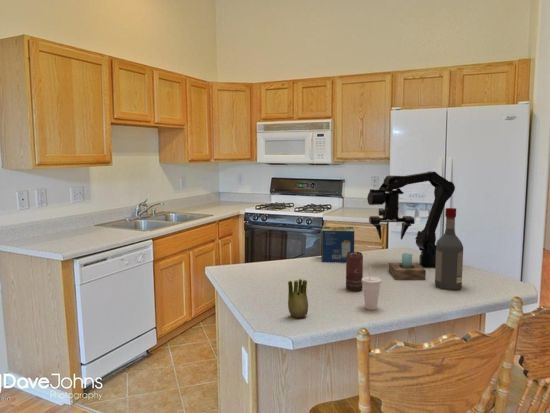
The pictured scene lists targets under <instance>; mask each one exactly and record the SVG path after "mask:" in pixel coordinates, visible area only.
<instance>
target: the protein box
mask: <svg viewBox="0 0 550 413" xmlns="http://www.w3.org/2000/svg"><path fill="white" fill-rule="evenodd" d="M354 228H355V227H354V226H322V227H321V262H322V263H335V262H336V263H339V264H340V263H341V264H342V263H344V264H346V255H347V253H348V252H355V229H354ZM336 263H335V264H336Z"/></svg>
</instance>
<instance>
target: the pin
mask: <svg viewBox="0 0 550 413" xmlns="http://www.w3.org/2000/svg"><path fill="white" fill-rule="evenodd" d="M401 263H402V268H412V263H413V254H411V253H408V252H407V253H405V252H403V253H402V254H401Z"/></svg>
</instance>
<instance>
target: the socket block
mask: <svg viewBox="0 0 550 413" xmlns="http://www.w3.org/2000/svg"><path fill="white" fill-rule="evenodd" d="M426 272H427V270H426V269H425V267H423V266H422V265H420V264H419V262H412V268H402V262H388V273H389V274H390V275H391V277H392V278H393V280H395V281H426V274H427V273H426Z"/></svg>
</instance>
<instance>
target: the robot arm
mask: <svg viewBox="0 0 550 413" xmlns="http://www.w3.org/2000/svg"><path fill="white" fill-rule="evenodd" d="M425 182H426V183H427V182H429V183H430V185H431V186H432V187H434V189H433V190H434V192H433V195H434V201H433V203H432V206H431V208H430V211H429V214H428V217H427V220H426V222H425V226H424V227H423V229H422V230H421V231H420V230H418V231H417V234H416V237H415V238H414V239H415V244H416V247H418V249H419V251H420V254H419V261H418V264H419V265H420V266H421V267H423V268H435V266H436V243H437V238H436V231H437V228H438V226H439V222H440V220H441V217H442V215H443V212H444V208H445V205H446V203H447V202H448V200H450V198H451V197H452V196H453V194H454V192H455V189H456V186H455V184H454V182H452V181H450V180H448V179H446V178H444V177H443V176H441V175H440V174H439V173H437V172H436V171H427V172H420V173H413V174H409V175H408V174H407V175H386V176H385V178H384V179H383V183H382V184H381V186H380V187H379V188H378V189H373V188H372V189H369V192H368V194H367V197H366V198H367V199H366V200H367V203H368V205H369V206H379V205H380V206H381V205H384V208H383V207H382V208H381V207H380V208H378V215H371V216H369V217H368V223H369V224H371V225H372V226H373V227H375V229H376V231H377V234H378V237H379V240H382V225H381V223H401V228H400V240H403V239H404V236H405V234H406V233H407V230H408V228H409V227H411V226H412V225H414V224H415V220H416V219H415V218H414V217H413V216H411V215H403V216H402V217H399V210H400V207H399V204H400V203H399V199H400V198H399V197H400V195H403V194H404V192H403V191H402V190H401V188H404V187H405V186H407V185H413V184H418V183H425ZM380 216H381V217H380Z"/></svg>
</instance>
